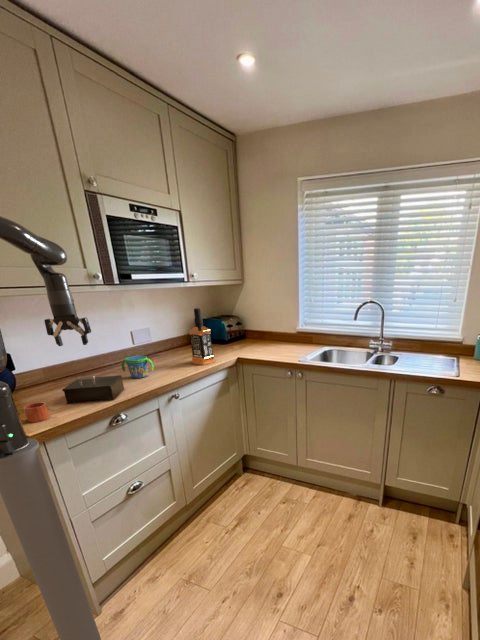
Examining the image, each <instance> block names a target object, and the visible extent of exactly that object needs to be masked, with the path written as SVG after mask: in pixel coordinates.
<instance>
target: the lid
mask: <svg viewBox="0 0 480 640" xmlns="http://www.w3.org/2000/svg"><path fill="white" fill-rule="evenodd" d="M121 377H122V375H121V374H120V375H107V376H105V375H103V376H95V375H82V376H77V377H76V379H75V380H74V381H72V382H71V383H69V384H68V385H67V386H65V387H64V388H62V392H64V391H73V390H86V389H99V388H110V387H111V386H112V385H114V384H115V383H116V382H117V381H118V380H119V379H120V378H121ZM122 378H123V377H122Z"/></svg>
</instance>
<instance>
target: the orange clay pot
mask: <svg viewBox="0 0 480 640" xmlns="http://www.w3.org/2000/svg"><path fill="white" fill-rule="evenodd" d="M22 409H23V413H24V415H25V418H26V421H27V422H28V423H40V422H43V421H46V420H48V419H49V418H50V413H49V410H48V407H47V404H46V402H44V401H43V402H42V401H40V402H39V401H38V402H32V403H29V404H25V405H24V406H23V407H22Z"/></svg>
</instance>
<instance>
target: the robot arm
mask: <svg viewBox="0 0 480 640" xmlns="http://www.w3.org/2000/svg"><path fill="white" fill-rule="evenodd" d="M0 240H2V241H4V242H6V243H7V244H9V245H11V246H12V247H15V248H16V249H18V250H19V251H21V252H23V253H25V254H28V255H30V258H31V260H32V262H33V264H34V266H35V267H36V269H37V271H38V272H39V274H40V276H41V278H42V280H43V283H44V287H45V290H46V296H47V300H48V304H49V307H50V310H51V315H52V316H53V318H45V319H44V320H43V321H44V325H45V329H46V335H48V336H51V337H54V341H55V344H56V345H57V346H58V347H62V346H64V343H63V339H62V336H61V333H62V331H67V330H68V331H75V332H77V333H78V334H80V338H81V343H82V345H83V346H86V345H88V343H89V340H88V336H87V335H88V334H91V333H92V329H91V325H90V322H89V319H88V317H80V318H79V316H78V314H77V309H76V305H75V301H74V298H73V295H72V292H71V290H70V286H69V282H68V279H67V276H66V275H65V274H64V273H63V272H58V271H55V270H54V268H53V266H57V267H58V266H64V265H65V264H66V263H67V261H68V255H67V252H66V251H65V249H64V248H63V247H62V246H60V245H59V244H58V243H56V242H53V241H52V240H49V239H47V238H45V237H42V236H39V235H37V234H35V233H34V232H32V231H31V230H29V228H26V227H25V226H24V225H21V224H20V223H18V222H16V221H14V220H12V219H10V218H6V217H3V216H1V215H0ZM79 323H81V324H82V325H83V327H82V326H81V325H80V324H79ZM54 324H55V325H56V328H55V329H54V327H53V325H54ZM7 354H8V353H7V349H6V345H5V342H4V337H3V334H2V329H1V328H0V373H2V372H3V371H4V370H5V369H6V366H7V363H8V355H7ZM27 438H28V436H27V433H26V431H25V428H24V425H23V422H22V419H21V416H20V413H19V411H18V407H17V406H16V402H15V399H14V396H13V393H12V390H11V388H10V385H9V384H8V383H6V382H4V381H0V457H1V458H3V457H4V455H13V454H14V453H16V452H18V451H21V450H23V449H25V448H26V447H28V446H29V444H30V443H29V441H28V439H27Z"/></svg>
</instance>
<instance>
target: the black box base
mask: <svg viewBox="0 0 480 640" xmlns="http://www.w3.org/2000/svg"><path fill="white" fill-rule="evenodd" d="M124 390H125V385H124V381H123V377H121V378H120V379H119V380H118V381H117V382H116V383H115V384H114V385H112V386H111V387H110V388H99V389H86V390H73V391H63V393H64V396H65V400H66V403H67V405H71V404H82V403H95V402H107V401H115V400H116V398H118V396H120V394H121V393H123V391H124Z"/></svg>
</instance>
